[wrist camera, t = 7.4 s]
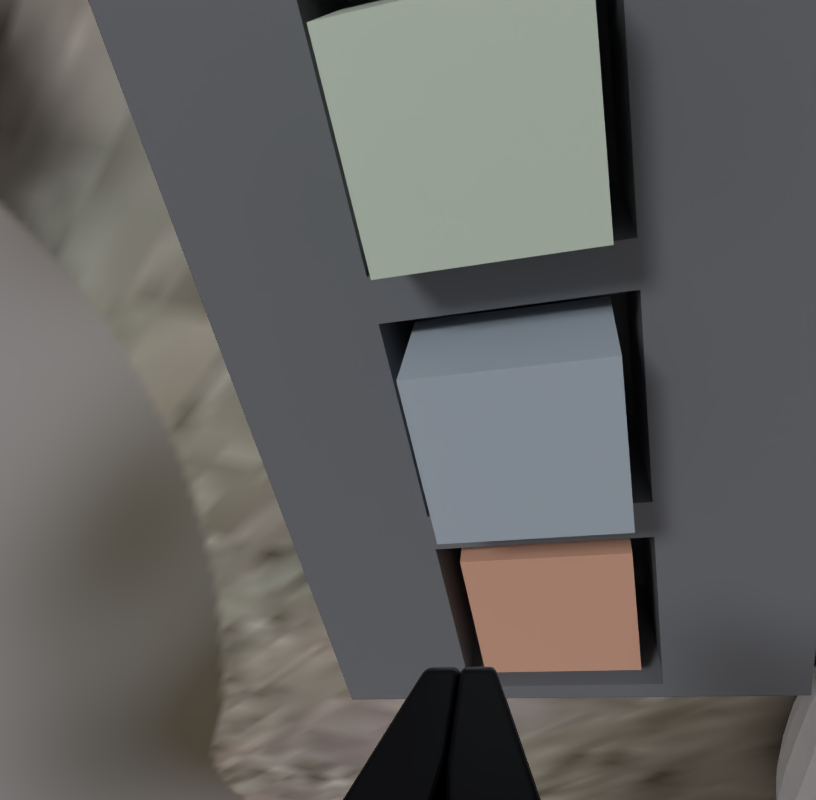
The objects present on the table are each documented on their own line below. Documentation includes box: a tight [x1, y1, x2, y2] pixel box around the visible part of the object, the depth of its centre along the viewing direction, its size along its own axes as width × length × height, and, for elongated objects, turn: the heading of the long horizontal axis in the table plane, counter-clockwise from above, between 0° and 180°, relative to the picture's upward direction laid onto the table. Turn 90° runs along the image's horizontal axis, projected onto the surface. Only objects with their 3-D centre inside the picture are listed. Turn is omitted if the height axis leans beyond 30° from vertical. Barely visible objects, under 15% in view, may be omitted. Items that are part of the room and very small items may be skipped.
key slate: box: [396, 296, 635, 544], centre depth 15 cm, size 4×4×2 cm
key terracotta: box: [460, 538, 641, 672], centre depth 19 cm, size 4×4×2 cm
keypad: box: [88, 0, 816, 700], centre depth 16 cm, size 12×24×4 cm, turn 12°
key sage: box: [307, 0, 614, 280], centre depth 12 cm, size 4×4×2 cm
